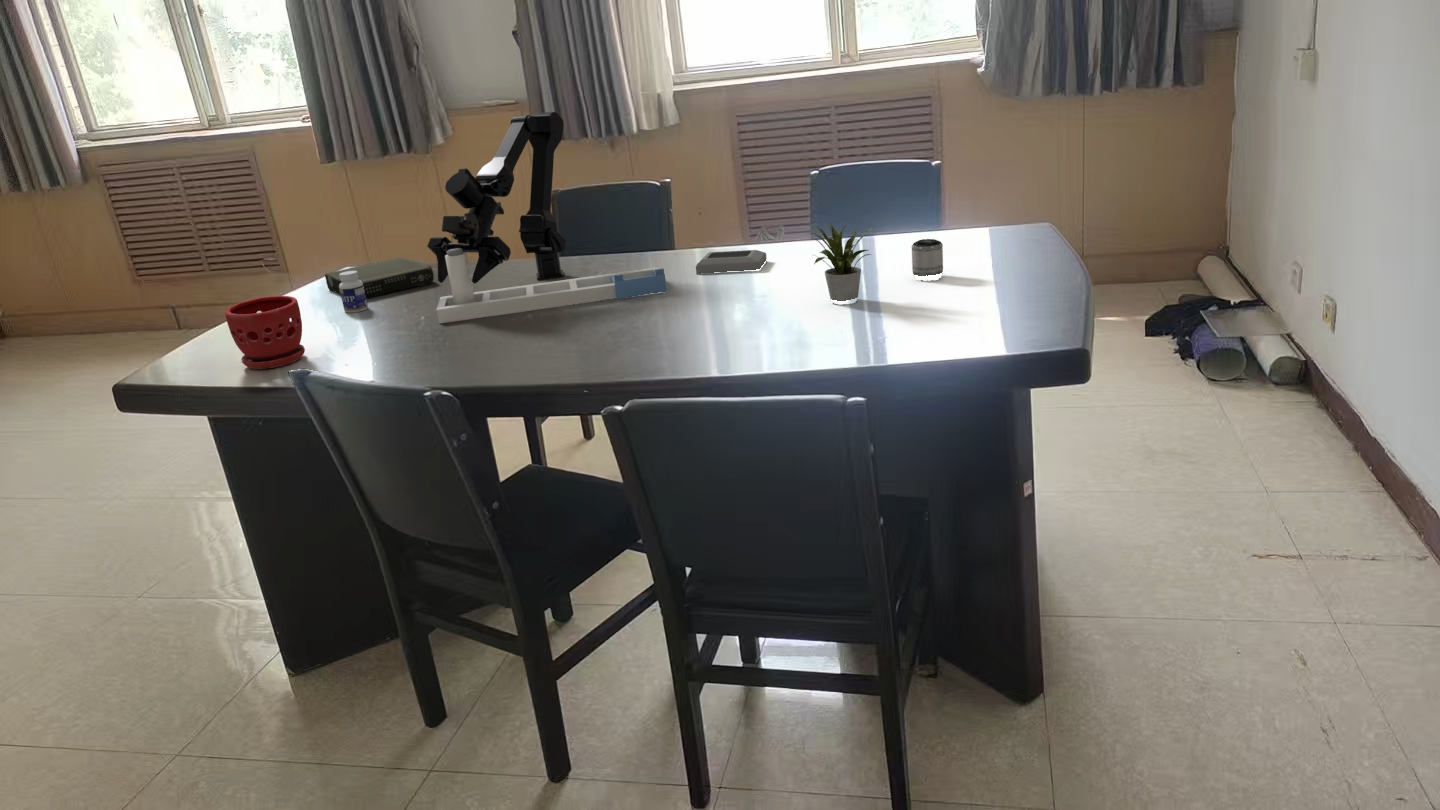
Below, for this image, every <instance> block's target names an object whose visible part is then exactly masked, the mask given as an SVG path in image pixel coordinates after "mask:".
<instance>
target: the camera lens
mask: <svg viewBox="0 0 1440 810" xmlns="http://www.w3.org/2000/svg"><path fill="white" fill-rule="evenodd" d="M943 244H944V243H942V242H941V241H940V240H937V239H936V238H934V239H933V238H926V239H925V238H924V239H920V240H919V239H918V240H917V241H915V242H912V245H911V264H912V266H911V270H912V275H913V274H914V275H918V276H926V275H927V276H928V275H936V274H940V273H942V272H944V257H943V256H944V255H943V254H944V253H943V252H944V251H943V250H944V249H943ZM942 274H943V273H942ZM914 275H913V276H914Z"/></svg>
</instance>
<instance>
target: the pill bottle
mask: <svg viewBox="0 0 1440 810" xmlns="http://www.w3.org/2000/svg"><path fill="white" fill-rule="evenodd" d="M339 276H340V280H341V281H342V283H340V285H339V289H340V294H339V295H340V298H341V302H342V306H343V310H344V312H345V313H348V314H355V313H359V312H363V311H366V310H367V309H369V305H368V301H367V300H368V299H366V296H365V291H364V286H363V283H362V281H360V280H358V273H357V271H347V272H343V273H340V274H339Z"/></svg>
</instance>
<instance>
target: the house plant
mask: <svg viewBox="0 0 1440 810" xmlns="http://www.w3.org/2000/svg"><path fill="white" fill-rule="evenodd" d="M846 221H847V219H845V221H843V222H844V223H843V224H845V222H846ZM828 226H829V227H830V230H831V237H828V236H827V234H826V232H825V231H824V230H823V229H822V228H820V227H819V226H817V225H813V224H812V225H811V227H815V228H816V229H818V230H819V231H820V234H822V236H823V237H824V238H823V237H821V236H820V235H818V234H816V233H813V232H812V233H811V232H810V233H809V232H808V234H811V235H815V236H816V237H818V238H819V239H820V240H821V241H823V243H824V244H825V245H826V246H827V248H828V249H826V247H825V246H824V245H823V244H822V243H821V242H820V241H819V240H818V239H816V238H814V237H812V239H814V240H815V241H816V242H818V243H819V244H820V245H821V246H822V247H823V250H821V251H819V252H818V253H819V254H823V255H824V256H818V255H816V254H813V256H815V257H817V258H816V259H815V260H814V264H813V265H815V264H816V263H818V262H820V261H823V262H824V263H826V264H827V265H828V266H829V269H828V268H827V269H826V270H825V271H824V276H825V281H826V284H827V289H828V295H829V299H830V300H831V299H832V300H837V301H846V300H851V299H855V298H857V297H858V298H859V291H860V282H861V281H860V280H861V274H862V273H861V272H862V269H861V268H860V267H856V265H857V263H859V261H860V260H861V259H862V258H864V257H866V256H869V255H870V256H873V255H872V254H871V253H866V254H864V255H862V256H861V257H859V259H857V260H856V262H855V264H854V266H852V263H853V262H854V261H855V259H856V258H857V256H858V255H860V254H862V253H864V252H868V251H869V249H860V250H857V251H854V250H855V248H856V247H857V245H858V243H859V242H860V241H861V240H862V239H863V238H864V236H865V235H866V234H867V233H868V232H869V231H871V230H873V229H875V228H876V226H874V227H872V228H869V229H868V230H866V231H865V232H864V233H863V234H862V235H861V236H860V237H859V239H858V240H857V242H856V243H855V244H853V243H854V241H855V238H856V236H857V233H858V228H859V226H857V227H856V228H855V231H854V233H853V234H852V235H851V237H850V238H849V239H848V240H847V241H845V244H844V247H843V232H844V230H845V228H846V227H847V225H844V226H843V227H842V229H841V231H840V233H839V232H838V231H837V230H836V229H835V227H834V225H832V223H829V225H828ZM825 259H828V260H829V261H830V263H831V264H832V266H833V267H832V266H831V265H829V264H828V263H827V262H826V261H825Z"/></svg>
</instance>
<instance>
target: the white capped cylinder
mask: <svg viewBox="0 0 1440 810" xmlns="http://www.w3.org/2000/svg"><path fill="white" fill-rule="evenodd" d="M447 253H448V254H447V255H445V259H446V265H447V270H448V279H449V285H450V290H451V294H452V295H453V300H454V305H460V304H467V303H474V302H475V297H474V292H475V291H474V288H473V282H472V277H471V272H470V266H469V261H468V260H469V259H468V255H467V252H463V250H462V248H456V249H450V250H448V251H447Z"/></svg>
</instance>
